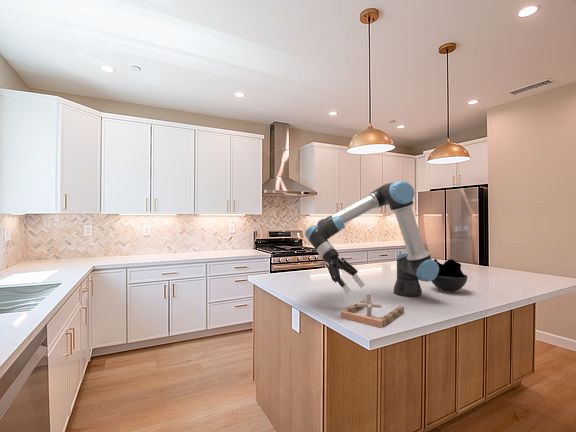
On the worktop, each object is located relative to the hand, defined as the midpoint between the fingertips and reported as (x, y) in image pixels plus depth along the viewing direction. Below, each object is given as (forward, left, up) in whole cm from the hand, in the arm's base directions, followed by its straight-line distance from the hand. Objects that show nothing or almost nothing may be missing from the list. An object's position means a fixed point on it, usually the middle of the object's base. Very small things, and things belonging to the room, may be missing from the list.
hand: (356, 289), depth 132 cm
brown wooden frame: (-8, -1, -11) cm, 14 cm away
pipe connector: (-5, +3, -11) cm, 13 cm away
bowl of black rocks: (-56, -52, -12) cm, 78 cm away
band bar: (-1, +9, -11) cm, 15 cm away
